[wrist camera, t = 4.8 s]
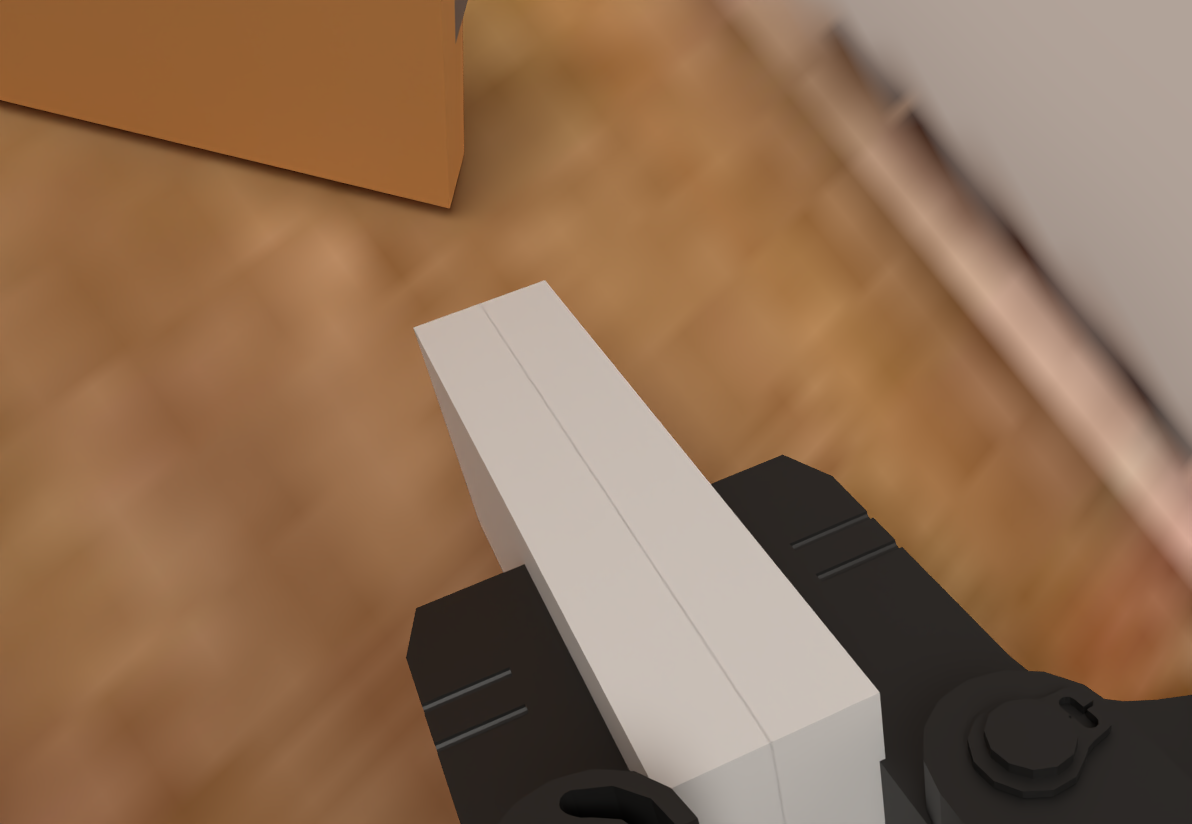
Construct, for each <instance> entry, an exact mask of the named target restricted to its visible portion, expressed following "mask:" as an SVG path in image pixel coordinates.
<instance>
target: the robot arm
mask: <svg viewBox="0 0 1192 824" xmlns="http://www.w3.org/2000/svg"><path fill="white" fill-rule="evenodd" d="M414 331H415V334H416V337H417V340H418V343H419V346H420V349H421V352H422V355H423V358H424V361H425V364H426V366H427V369H428V372H429V375H430V378H431V381H432V384H433V387H434V390H435V393H436V396H437V399H438V402H439V405H440V408H441V411H442V414H443V416H444V419H445V422H446V425H447V428H448V431H449V434H450V437H451V440H452V443H453V446H454V449H455V452H456V455H457V458H458V461H459V464H460V466H461V469H462V472H463V475H464V478H465V481H466V484H467V487H468V490H469V493H470V496H471V499H472V502H473V505H474V508H475V511H476V514H477V517H478V519H479V522H480V524H481V526H482V529H483V531H484V533H485V535H486V537H487V539H488V541H489V543H490V545H491V547H492V550H493V552H494V554H495V556H496V558H497V560H498V562H499V564H500V566H501V568H502V570H503V573H501V574H499V575H497V576H494V577H492V578H489V579H487V580H484V581H482V582H479V583H477V584H475V585H472V586H470V587H467V588H465V589H462V590H460V591H457V592H455V593H452V594H450V595H448V596H445V597H443V598H440V599H438V600H435V601H433V602H430V603H428V604H426V605H423V606H421V607H418V608H416V612H415V617H414V622H413V627H412V632H411V637H410V641H409V646H408V651H407V656H406V659H407V662H408V665H409V668H410V671H411V674H412V677H413V680H414V683H415V686H416V689H417V692H418V695H419V698H420V701H421V704H422V707H423V709H424V712H425V717H426V720H427V723H428V726H429V729H430V732H431V735H432V738H433V741H434V744H435V746H436V749H437V752H438V756H439V759H440V762H441V765H442V768H443V771H444V774H445V778H446V781H447V784H448V787H449V790H450V793H451V796H452V799H453V802H454V805H455V808H456V811H457V814H458V817H459V820H460V823H461V824H1192V695H1188V696H1181V697H1173V698H1166V699H1159V700H1144V701H1116V700H1108V699H1104V698H1102V697H1101V696H1099V695H1098V694H1096V693H1095V692H1093V691H1092V690H1091V689H1089V688H1088V687H1086V686H1085V685H1083V684H1080V683H1077V682H1074V681H1071V680H1068V679H1065V678H1061V677H1058V676H1055V675H1052V674H1049V673H1046V672H1038V671H1028V670H1026V669H1025V668H1024V667H1023V666H1021V665H1020V664H1019V663H1018V662H1016V661H1015V660H1014V659H1013V658H1011V657H1010V656H1009V655H1008V654H1007V653H1006V652H1005V651H1004V650H1003V649H1002V648H1001V647H1000V646H999V645H998V644H997V643H996V642H995V641H994V640H993V639H992V638H991V637H990V636H989V635H988V634H987V633H986V632H985V631H984V630H983V629H982V628H981V627H980V626H979V625H978V624H977V623H976V622H975V621H974V619H973V618H972V617H971V616H970V615H969V614H968V613H967V612H966V611H965V610H964V609H963V608H962V607H961V606H960V605H959V604H958V603H957V602H956V601H955V600H954V599H953V598H952V597H951V596H950V595H949V594H948V593H947V592H946V591H945V590H944V589H943V588H942V587H941V586H940V585H939V584H938V583H937V582H936V581H935V580H934V579H933V578H932V577H931V576H930V575H929V574H928V573H927V572H926V571H925V570H924V569H923V568H922V567H921V566H920V565H919V564H918V563H917V562H916V561H915V560H914V559H913V558H912V557H911V556H910V555H909V554H908V553H907V552H906V551H905V550H904V548H903V547H901V548H898V546H897V545H896V543H895V539H894V538H893V537H892V536H891V535H890V534H889V533H888V532H887V531H886V530H885V529H884V528H883V527H882V526H881V525H880V524H879V523H878V522H877V521H876V520H875V519H874V518H872V519H870V518H869V517H868V515H867V511H866V510H865V509H864V508H863V507H862V506H861V505H860V504H859V503H858V502H857V501H856V500H855V499H854V498H853V497H852V496H851V495H850V494H849V493H848V492H847V491H846V490H845V489H844V488H843V487H842V486H841V485H840V484H839V483H838V482H837V481H836V480H835V479H834V477H833V476H830V475H828V474H826V473H824V472H821V471H819V470H817V469H814V468H812V467H810V466H807V465H805V464H803V463H801V462H798V461H796V460H794V459H791V458H789V457H787V456H784V455H781V456H779V457H776V458H774V459H771V460H769V461H766V462H764V463H761V464H759V465H756V466H754V467H752V468H749V469H747V470H744V471H742V472H739V473H737V474H734V475H732V476H729V477H727V478H725V479H722V480H720V481H717V482H715V483H712V484H710V483H709V482H708V480H707V479H706V478H705V477H704V476H703V474H702V473H701V472H700V471H699V469H698V468H697V467H696V466H695V464H694V463H693V462H692V461H691V460H690V458H689V457H688V456H687V455H686V453H685V452H684V451H683V450H682V448H681V447H680V446H679V445H678V444H677V442H676V441H675V440H674V439H673V437H672V436H671V435H670V434H669V432H668V431H667V430H666V429H665V428H664V426H663V425H662V424H661V423H660V421H659V420H658V419H657V418H656V416H655V415H654V414H653V413H652V412H651V410H650V409H649V408H648V407H647V405H646V404H645V403H644V402H643V400H642V399H641V398H640V397H639V395H638V394H637V393H636V392H635V391H634V389H633V388H632V387H631V386H630V384H629V383H628V382H627V381H626V379H625V378H624V377H623V376H622V375H621V373H620V372H619V371H618V370H617V368H616V367H615V366H614V365H613V363H612V362H611V361H610V360H609V359H608V357H607V356H606V355H605V354H604V352H603V351H602V350H601V349H600V347H599V346H598V345H597V344H596V343H595V341H594V340H593V339H592V338H591V336H590V335H589V334H588V333H587V331H586V330H585V329H584V328H583V327H582V325H581V324H580V323H579V322H578V320H577V319H576V318H575V317H574V315H573V314H572V313H571V312H570V311H569V309H568V308H567V307H566V306H565V304H564V303H563V302H562V301H561V299H560V298H559V297H558V296H557V295H556V293H555V292H554V291H553V290H552V288H551V287H550V286H549V285H548V283H547V282H546V281H545V280H544V281H541V282H539V283H536V284H533V285H530V286H528V287H525V288H522V289H519V290H517V291H514V292H511V293H508V294H505V295H503V296H500V297H497V298H494V299H492V300H489V301H486V302H483V303H480V304H478V305H475V306H472V307H469V308H467V309H464V310H461V311H458V312H455V313H453V314H450V315H447V316H444V317H442V318H439V319H436V320H433V321H430V322H428V323H425V324H422V325H419V326H417V327H414Z"/></svg>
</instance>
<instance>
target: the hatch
mask: <svg viewBox="0 0 1192 824" xmlns="http://www.w3.org/2000/svg"><path fill="white" fill-rule="evenodd" d="M467 1H468V0H0V100H2V101H6V102H11V103H15V104H19V105H23V106H27V107H31V108H35V109H40V110H44V111H48V112H52V113H56V114H60V115H64V116H69V117H73V118H77V119H81V120H85V121H89V122H93V123H98V124H102V125H106V126H110V127H114V128H118V129H122V130H127V131H131V132H135V133H139V134H143V135H147V136H151V137H156V138H160V139H164V140H168V141H172V142H176V143H180V144H185V145H189V146H193V147H197V148H201V149H205V150H209V151H214V152H218V153H222V154H226V155H230V156H234V157H238V158H243V159H247V160H251V161H255V162H259V163H263V164H267V165H272V166H276V167H280V168H284V169H288V170H292V171H296V172H301V173H305V174H309V175H313V176H317V177H321V178H325V179H330V180H334V181H338V182H342V183H346V184H350V185H354V186H359V187H363V188H367V189H371V190H375V191H379V192H383V193H388V194H392V195H396V196H400V197H404V198H408V199H412V200H417V201H421V202H425V203H429V204H433V205H437V206H441V207H446V208H450V206H451V202H452V198H453V194H454V191H455V187H456V183H457V179H458V175H459V172H460V168H461V164H462V160H463V157H464V93H463V15H464V12H465V8H466V4H467Z"/></svg>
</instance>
